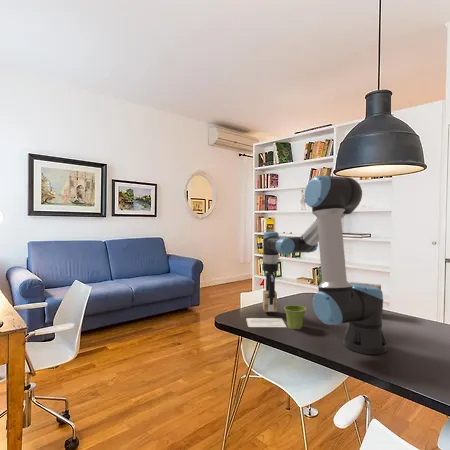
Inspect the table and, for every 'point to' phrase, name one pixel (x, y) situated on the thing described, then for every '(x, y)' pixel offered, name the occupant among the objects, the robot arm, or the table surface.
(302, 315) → the plant pot
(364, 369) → the table surface
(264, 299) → the oak block
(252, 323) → the letter
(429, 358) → the table surface
